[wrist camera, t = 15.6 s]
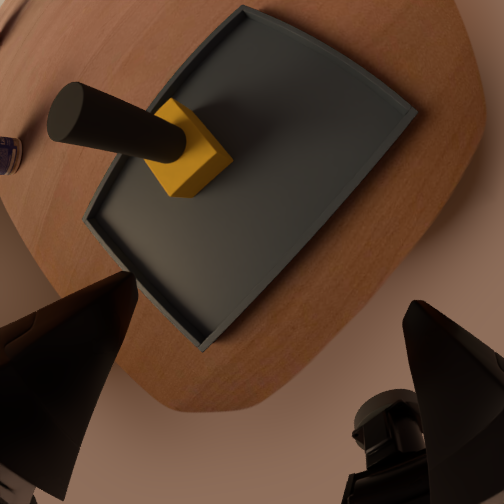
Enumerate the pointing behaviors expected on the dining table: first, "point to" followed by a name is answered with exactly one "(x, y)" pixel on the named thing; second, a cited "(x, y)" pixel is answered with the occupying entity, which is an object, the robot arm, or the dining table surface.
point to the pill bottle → (9, 155)
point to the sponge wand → (140, 136)
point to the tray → (247, 170)
